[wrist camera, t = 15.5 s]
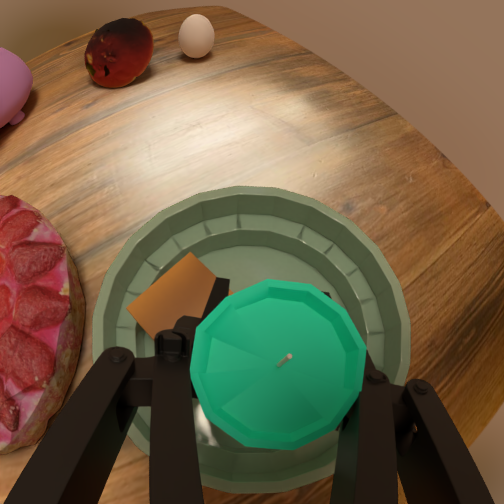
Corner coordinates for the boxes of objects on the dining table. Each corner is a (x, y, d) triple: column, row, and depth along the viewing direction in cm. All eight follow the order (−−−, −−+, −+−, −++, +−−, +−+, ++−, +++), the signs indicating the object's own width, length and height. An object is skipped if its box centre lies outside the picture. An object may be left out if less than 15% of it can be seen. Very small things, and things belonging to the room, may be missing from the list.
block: (247, 330, 24) (253, 310, 19) (195, 381, 22) (185, 374, 17) (197, 282, 25) (190, 251, 20) (146, 328, 23) (125, 307, 18)
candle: (293, 333, 21) (360, 251, 10) (307, 420, 18) (401, 430, 8) (203, 343, 20) (174, 267, 10) (213, 433, 18) (193, 471, 7)
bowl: (399, 284, 27) (433, 255, 22) (315, 507, 18) (340, 531, 13) (198, 195, 30) (194, 151, 25) (78, 392, 21) (41, 385, 16)
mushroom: (119, 95, 49) (76, 103, 36) (105, 36, 43) (60, 29, 30) (182, 73, 48) (154, 72, 35) (167, 11, 42) (135, -8, 29)
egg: (177, 65, 41) (173, 21, 34) (182, 50, 43) (180, 10, 37) (212, 64, 41) (212, 20, 35) (215, 49, 44) (216, 9, 37)
